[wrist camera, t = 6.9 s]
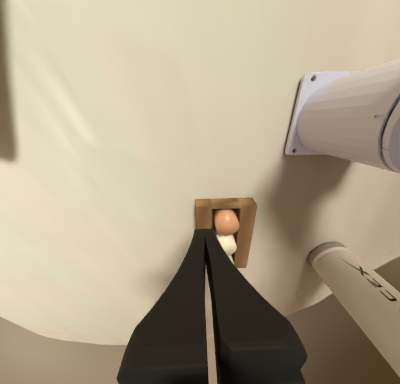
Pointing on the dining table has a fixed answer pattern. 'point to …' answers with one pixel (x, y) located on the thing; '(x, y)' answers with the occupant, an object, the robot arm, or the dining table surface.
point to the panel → (245, 218)
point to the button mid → (226, 242)
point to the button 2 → (225, 221)
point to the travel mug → (362, 297)
